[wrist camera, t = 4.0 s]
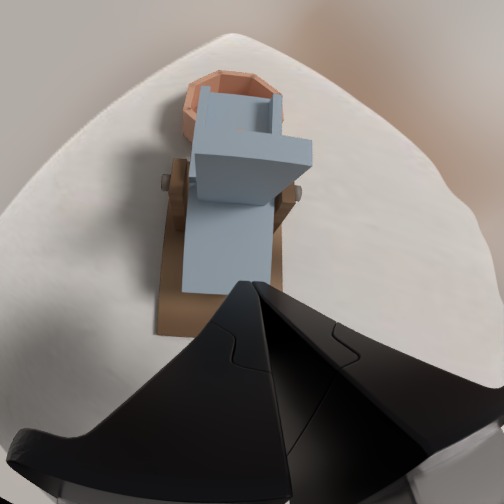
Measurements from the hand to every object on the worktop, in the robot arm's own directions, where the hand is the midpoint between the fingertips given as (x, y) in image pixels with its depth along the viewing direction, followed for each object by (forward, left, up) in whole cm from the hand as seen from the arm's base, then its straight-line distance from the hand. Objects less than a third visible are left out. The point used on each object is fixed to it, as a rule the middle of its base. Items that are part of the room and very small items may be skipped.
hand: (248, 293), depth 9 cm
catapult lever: (+8, +3, -9) cm, 12 cm away
